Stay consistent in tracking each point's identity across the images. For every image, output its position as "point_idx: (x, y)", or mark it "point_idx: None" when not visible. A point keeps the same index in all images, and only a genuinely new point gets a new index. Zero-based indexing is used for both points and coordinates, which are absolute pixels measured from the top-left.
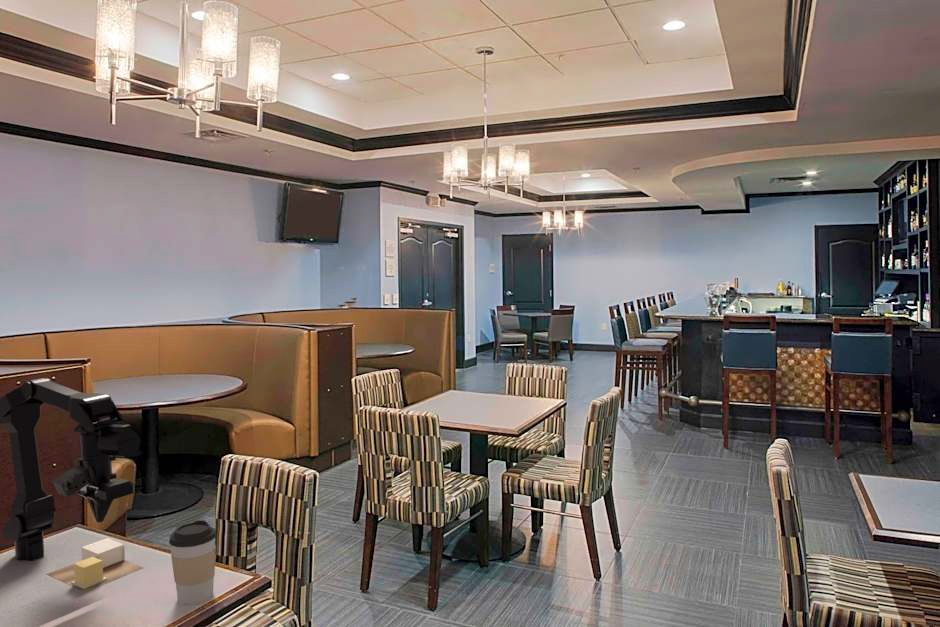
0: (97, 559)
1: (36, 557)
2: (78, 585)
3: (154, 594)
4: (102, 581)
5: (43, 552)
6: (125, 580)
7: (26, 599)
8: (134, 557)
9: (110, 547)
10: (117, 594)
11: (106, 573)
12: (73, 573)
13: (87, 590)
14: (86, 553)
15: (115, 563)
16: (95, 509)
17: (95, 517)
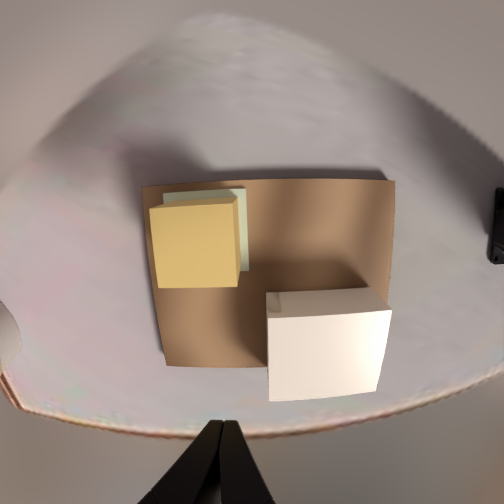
0: (188, 283)
1: (499, 224)
2: (195, 191)
3: (40, 296)
4: None
5: (502, 246)
6: None
7: (289, 74)
8: None
9: (286, 368)
10: (92, 248)
11: (219, 293)
12: (320, 231)
13: (144, 196)
14: (353, 305)
15: None
16: (181, 495)
17: (233, 441)
